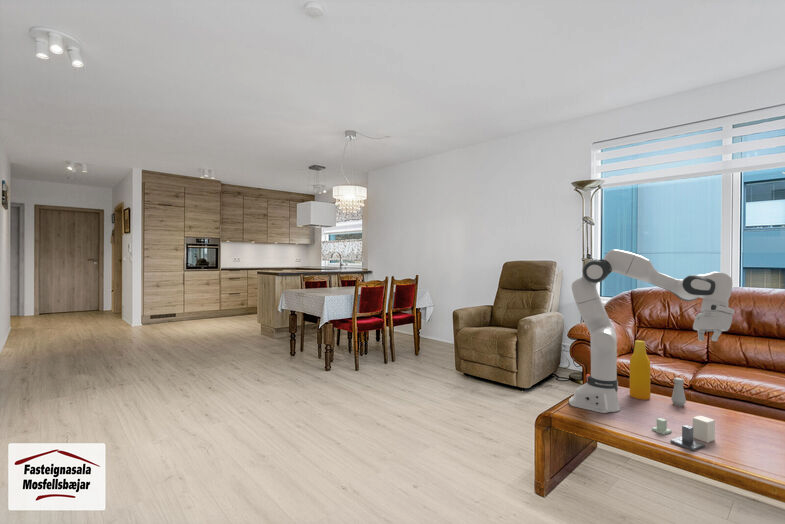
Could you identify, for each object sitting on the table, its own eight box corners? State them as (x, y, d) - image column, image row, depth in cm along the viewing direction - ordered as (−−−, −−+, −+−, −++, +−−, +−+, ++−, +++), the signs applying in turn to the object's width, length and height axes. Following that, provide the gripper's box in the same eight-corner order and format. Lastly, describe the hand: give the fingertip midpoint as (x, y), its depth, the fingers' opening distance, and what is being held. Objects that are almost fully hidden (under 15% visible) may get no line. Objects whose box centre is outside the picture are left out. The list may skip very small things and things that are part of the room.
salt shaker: (688, 407, 192) (688, 380, 192) (674, 406, 193) (675, 380, 193) (682, 403, 198) (682, 377, 198) (669, 402, 199) (669, 376, 199)
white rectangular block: (707, 442, 156) (707, 422, 156) (692, 437, 161) (692, 417, 161) (714, 440, 159) (714, 420, 158) (700, 434, 163) (700, 415, 163)
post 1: (664, 434, 163) (664, 422, 163) (651, 430, 168) (651, 418, 168) (671, 432, 166) (671, 420, 165) (659, 427, 170) (659, 416, 170)
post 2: (693, 451, 150) (693, 432, 150) (670, 442, 157) (670, 424, 157) (705, 446, 153) (705, 428, 153) (682, 438, 160) (682, 420, 160)
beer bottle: (653, 397, 206) (654, 341, 205) (644, 401, 201) (645, 343, 200) (635, 392, 213) (635, 338, 213) (625, 395, 209) (626, 340, 208)
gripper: (692, 308, 182) (685, 338, 181) (720, 305, 163) (713, 338, 161) (707, 313, 181) (701, 342, 179) (737, 310, 161) (730, 343, 159)
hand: (707, 340), depth 170 cm, fingers open, 8 cm apart
